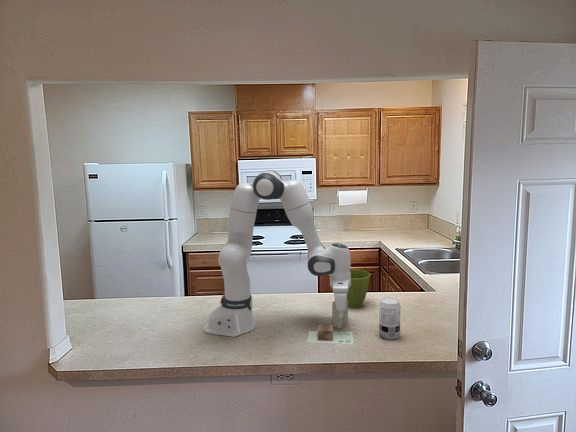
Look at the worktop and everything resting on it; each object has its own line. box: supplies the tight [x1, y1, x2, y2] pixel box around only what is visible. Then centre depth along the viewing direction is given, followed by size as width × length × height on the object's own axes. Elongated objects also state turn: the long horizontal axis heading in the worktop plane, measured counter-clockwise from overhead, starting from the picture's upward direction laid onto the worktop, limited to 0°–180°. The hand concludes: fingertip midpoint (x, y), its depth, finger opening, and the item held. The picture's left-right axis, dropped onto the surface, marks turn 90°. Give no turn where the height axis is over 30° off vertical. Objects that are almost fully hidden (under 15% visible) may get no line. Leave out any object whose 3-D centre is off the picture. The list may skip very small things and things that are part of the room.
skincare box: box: [331, 300, 349, 329], centre depth 174 cm, size 6×4×12 cm
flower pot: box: [347, 269, 371, 309], centre depth 198 cm, size 15×15×16 cm
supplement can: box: [378, 297, 401, 340], centre depth 165 cm, size 8×8×15 cm
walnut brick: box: [317, 323, 334, 341], centre depth 163 cm, size 6×6×4 cm
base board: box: [307, 330, 354, 345], centre depth 163 cm, size 18×10×2 cm, turn 83°
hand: (341, 312), depth 173 cm, fingers open, 8 cm apart
